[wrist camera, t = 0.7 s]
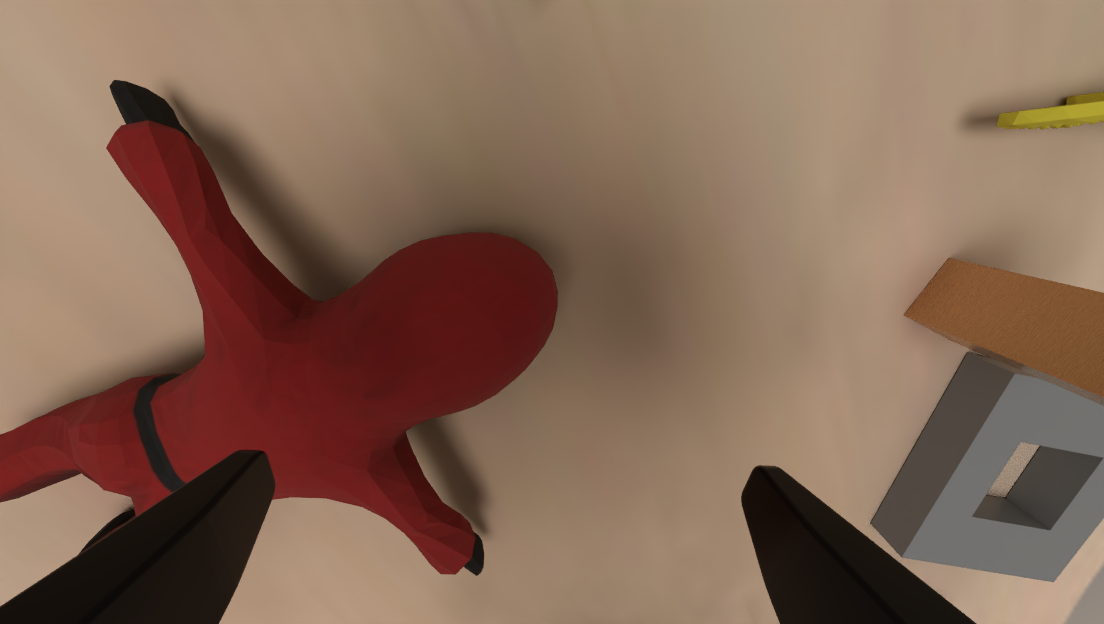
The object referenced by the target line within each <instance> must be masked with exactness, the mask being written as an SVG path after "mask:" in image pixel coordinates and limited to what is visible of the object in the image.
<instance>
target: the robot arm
mask: <svg viewBox="0 0 1104 624" xmlns="http://www.w3.org/2000/svg"><path fill="white" fill-rule="evenodd" d="M274 492H275V479H274V475H273V472H272V469H271V465H270V462H269V459H268V456H267V454H266V453H265V452H264V451H262V450H238V451H235V452H234V453H232V454H230V455H229V456H227V457H226V458H224V459H223V460H221V461H220V462H218V463H217V464H215V465H214V466H212V467H211V468H209V469H208V470H206V471H205V472H203V473H201V474H200V475H198V476H197V477H195V478H194V479H192V480H191V481H189V482H188V483H186V484H185V485H183V486H182V487H180V488H179V489H177V490H176V491H174V492H173V493H171V494H170V495H168V496H167V497H165V498H164V499H162V500H161V501H159V502H158V503H156V504H155V505H153V506H152V507H150V508H149V509H147V510H145V511H144V512H142V513H141V514H139V515H138V516H136V517H135V518H133V519H132V520H130V521H129V522H127V523H126V524H124V525H123V526H121V527H120V528H118V529H117V530H115V531H114V532H112V533H111V534H109V535H108V536H106V537H105V538H103V539H102V540H100V541H99V542H97V543H96V544H94V545H93V546H91V547H89V548H88V549H86V550H85V551H83V552H82V553H80V554H79V555H77V556H76V557H74V558H73V559H71V560H70V561H68V562H67V563H65V564H64V565H62V566H61V567H59V568H58V569H56V570H55V571H53V572H52V573H50V574H49V575H47V576H46V577H44V578H43V579H41V580H40V581H38V582H37V583H35V584H34V585H32V586H30V587H29V588H27V589H26V590H24V591H23V592H21V593H20V594H18V595H17V596H15V597H14V598H12V599H11V600H9V601H8V602H6V603H5V604H3V605H2V606H0V624H219V622H220V620H221V618H222V616H223V614H224V612H225V610H226V609H227V607H228V605H229V603H230V601H231V599H232V596H233V594H234V592H235V590H236V588H237V586H238V584H239V581H240V579H241V577H242V574H243V572H244V569H245V567H246V564H247V562H248V559H249V557H250V554H251V552H252V549H253V547H254V544H255V542H256V539H257V536H258V534H259V531H260V529H261V526H262V524H263V521H264V519H265V516H266V514H267V511H268V509H269V506H270V503H271V501H272V498H273V496H274ZM741 502H742V507H743V511H744V514H745V518H746V521H747V525H748V528H749V532H750V535H751V538H752V542H753V545H754V549H755V552H756V556H757V559H758V563H759V566H760V570H761V573H762V576H763V579H764V582H765V586H766V589H767V591H768V594H769V597H770V599H771V602H772V605H773V607H774V610H775V612H776V615H777V617H778V620H779V622H780V624H976V623H975V622H974V621H972V620H971V619H970V618H969V617H967V616H966V615H965V614H964V613H962V612H961V611H960V610H959V609H957V608H956V607H955V606H954V605H952V604H951V603H950V602H948V601H947V600H946V599H945V598H943V597H942V596H941V595H940V594H938V593H937V592H936V591H935V590H933V589H932V588H931V587H930V586H928V585H927V584H926V583H925V582H923V581H922V580H921V579H919V578H918V577H917V576H916V575H914V574H913V573H912V572H911V571H909V570H908V569H907V568H906V567H904V566H903V565H902V564H901V563H899V562H898V561H897V560H896V559H894V558H893V557H892V556H891V555H889V554H888V553H887V552H885V551H884V550H883V549H882V548H880V547H879V546H878V545H877V544H875V543H874V542H873V541H872V540H870V539H869V538H868V537H867V536H865V535H864V534H863V533H862V532H860V531H859V530H858V529H856V528H855V527H854V526H853V525H851V524H850V523H849V522H848V521H846V520H845V519H844V518H843V517H841V516H840V515H839V514H838V513H836V512H835V511H834V510H833V509H831V508H830V507H829V506H827V505H826V504H825V503H824V502H822V501H821V500H820V499H819V498H817V497H816V496H815V495H814V494H812V493H811V492H810V491H809V490H807V489H806V488H805V487H804V486H802V485H801V484H800V483H798V482H797V481H796V480H795V479H793V478H792V477H791V476H790V475H788V474H787V473H786V472H785V471H783V470H782V469H781V468H779V467H776V466H761V465H759V466H756V467H755V468H754V469H753V470H752V472H751V475H750V477H749V479H748V481H747V483H746V485H745V487H744V489H743V492H742V496H741Z"/></svg>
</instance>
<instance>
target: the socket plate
mask: <svg viewBox="0 0 1104 624" xmlns="http://www.w3.org/2000/svg"><path fill="white" fill-rule="evenodd" d="M1020 442H1025V443H1030V444H1035V445H1040V446H1041V447H1040V448H1039V450H1038V451H1037V452H1036V454H1035V455H1034V457H1033V458H1032V460H1031V461H1030V463H1029V464H1028V466H1027V467H1026V469H1025V470H1024V472H1023V473H1022V475H1021V476H1020V478H1019V479H1018V481H1017V482H1016V484H1015V485H1014V487H1013V488H1012V489H1011V491H1010V492H1009V494H1008V495H1007V497H1006V498H1001V497H995V496H990V495H986V494H987V492H988V491H989V489H990V488H991V486H992V485H993V483H994V482H995V480H996V479H997V477H998V476H999V474H1000V473H1001V471H1002V470H1003V468H1004V467H1005V465H1006V464H1007V462H1008V461H1009V459H1010V457H1011V456H1012V454H1013V453H1014V451H1015V450H1016V448H1017V447H1018V445H1019V444H1020ZM1103 518H1104V406H1103V405H1101V404H1098V403H1096V402H1094V401H1091V400H1089V399H1087V398H1084V397H1082V396H1080V395H1077V394H1075V393H1072V392H1070V391H1068V390H1065V389H1063V388H1061V387H1058V386H1056V385H1054V384H1051V383H1049V382H1047V381H1044V380H1042V379H1040V378H1037V377H1035V376H1033V375H1030V374H1028V373H1026V372H1023V371H1021V370H1019V369H1016V368H1014V367H1012V366H1009V365H1007V364H1004V363H1002V362H1000V361H997V360H995V359H993V358H990V357H986V356H981V355H976V354H971V353H967V354H966V356H965V358H964V360H963V361H962V363H961V365H960V367H959V369H958V370H957V372H956V374H955V376H954V377H953V379H952V381H951V383H950V384H949V386H948V388H947V390H946V391H945V393H944V395H943V397H942V398H941V400H940V402H939V404H938V406H937V407H936V409H935V411H934V413H933V414H932V416H931V418H930V420H929V421H928V423H927V425H926V427H925V428H924V430H923V432H922V434H921V435H920V437H919V439H918V441H917V442H916V444H915V446H914V448H913V450H912V451H911V453H910V455H909V457H908V458H907V460H906V462H905V464H904V465H903V467H902V469H901V471H900V472H899V474H898V476H897V478H896V479H895V481H894V483H893V485H892V486H891V488H890V490H889V492H888V494H887V495H886V497H885V499H884V501H883V502H882V504H881V506H880V508H879V509H878V511H877V513H876V515H875V516H874V518H873V520H872V522H871V523H870V524H871V525H872V526H873V527H874V528H875V529H876V530H877V531H878V532H879V533H880V534H881V535H882V537H883V538H884V539H885V540H886V541H887V542H888V543H889V544H890V545H891V546H892V547H893V549H894V550H895V551H896V552H897V553H898V554H899V555H900V556H901V557H902V558H908V559H914V560H920V561H926V562H933V563H939V564H945V565H951V566H957V567H963V568H970V569H976V570H982V571H988V572H994V573H1000V574H1006V575H1013V576H1019V577H1025V578H1031V579H1037V580H1043V581H1050V582H1054V581H1055V580H1056V578H1057V577H1058V576H1059V575H1060V573H1061V572H1062V571H1063V569H1064V568H1065V567H1066V566H1067V564H1068V563H1069V562H1070V560H1071V559H1072V558H1073V557H1074V555H1075V554H1076V553H1077V551H1078V550H1079V549H1080V548H1081V546H1082V545H1083V544H1084V542H1085V541H1086V540H1087V539H1088V537H1089V536H1090V535H1091V533H1092V532H1093V531H1094V530H1095V528H1096V527H1097V526H1098V524H1099V523H1100V522H1101V521H1102V519H1103Z"/></svg>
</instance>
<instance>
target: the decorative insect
mask: <svg viewBox="0 0 1104 624" xmlns="http://www.w3.org/2000/svg"><path fill="white" fill-rule="evenodd" d="M1099 121H1102V122H1104V92H1100V93H1092V94H1085V95H1078V96H1070V97H1067V101H1066V105H1064V106H1056V107H1048V108H1040V109H1032V110H1024V111H1017V112H1010V113H1002V114H1000V115H999V119H998V122H997V126H996V127H1001V128H1006V129H1016V128H1019V129H1024V128H1028V129H1035V128H1037V127H1039V128H1040V129H1042V130H1043V129H1046V128H1049V127H1050V126H1051V128H1061V127H1063V128H1068V127H1071V126H1079V125H1081V124H1083V123H1089V124H1095V123H1097V122H1099Z"/></svg>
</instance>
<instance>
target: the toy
mask: <svg viewBox="0 0 1104 624" xmlns="http://www.w3.org/2000/svg"><path fill="white" fill-rule="evenodd" d="M110 89H111V93H112V95H113V98H114V100H115V102H116V104H117V106H118V108H119V111H120V113H121V115H122V117H123V119H124V121H125V123H126V125H122V126H121V127H120V128H119V129H118V130H117V131H116V132H115V133H114V135H113V137H112V138H111V140H110V142H109V144H108V145H107V147H106V148H107V150H108V152H109V153H110V155H111V156H112V158H113V159H114V161H115V162H116V164H117V165H118V167H119V168H120V170H121V171H122V173H123V174H124V176H125V177H126V179H127V180H128V181H129V182H130V184H131V185H132V186H133V187H134V189H135V190H136V191H137V192H138V194H139V195H140V196H141V197H142V199H143V200H144V201H145V202H146V204H147V205H148V206H149V207H150V209H151V210H152V211H153V212H154V214H155V215H156V216H157V218H158V219H159V221H160V222H161V224H162V225H163V227H164V228H165V229H166V231H167V232H168V234H169V235H170V237H171V238H172V240H173V241H174V243H175V244H176V246H177V248H178V250H179V252H180V254H181V256H182V258H183V260H184V262H185V264H186V266H187V268H188V270H189V272H190V275H191V277H192V280H193V283H194V286H195V289H196V292H197V295H198V298H199V301H200V304H201V307H202V310H203V323H204V338H205V353H206V355H205V356H204V358H203V359H202V360H201V362H200V363H199V364H198V365H197V366H195V367H193V368H192V369H190V370H188V371H187V372H185V373H183V374H161V375H153V376H145V377H137V378H131V379H129V380H127V381H125V382H123V383H121V384H119V385H117V386H114V387H112V388H110V389H108V390H106V391H104V392H101V393H99V394H96V395H93V396H89V397H86V398H83V399H79V400H76V401H74V402H71V403H69V404H67V405H64V406H62V407H59V408H57V409H55V410H53V411H51V412H49V413H47V414H45V415H43V416H41V417H38V418H36V419H34V420H32V421H30V422H28V423H26V424H24V425H22V426H20V427H18V428H16V429H14V430H12V431H9V432H6V433H4V434H1V435H0V502H4V501H8V500H12V499H16V498H20V497H22V496H25V495H27V494H30V493H32V492H35V491H37V490H40V489H42V488H45V487H47V486H50V485H52V484H55V483H58V482H60V481H63V480H66V479H68V478H71V477H74V476H76V475H78V474H81V473H82V474H83V475H84V476H86V477H87V478H89V479H90V480H92V481H94V482H95V483H97V484H98V485H99V486H100V487H101V488H102V489H103V490H106V491H110V492H114V493H118V494H122V495H125V496H129V497H131V499H132V502H133V505H134V510H131V511H127V512H124V513H122V514H120V515H118V516H117V517H115V518H114V519H113V520H111V521H110V522H109V523H107V524H106V525H105V526H104V527H103V528H102V529H101V530H100V531H99V532H98V533H97V534H96V535H95V536H94V537H93V538H92V539H91V540H90V541H89V542H88V543H87V544H86V546H85V547H84V548H83V549H82V551H81V552H80V553H82V552H83V551H85V550H86V549H88V548H89V547H91V546H93V545H94V544H96V543H97V542H99V541H100V540H102V539H103V538H105V537H106V536H108V535H109V534H111V533H112V532H114V531H115V530H117V529H118V528H120V527H121V526H123V525H124V524H126V523H127V522H129V521H130V520H132V519H133V518H135V517H136V516H138V515H139V514H141V513H142V512H144V511H145V510H147V509H149V508H150V507H152V506H153V505H155V504H156V503H158V502H159V501H161V500H162V499H164V498H165V497H167V496H168V495H170V494H171V493H173V492H174V491H176V490H177V489H179V488H180V487H182V486H183V485H185V484H186V483H188V482H189V481H191V480H192V479H194V478H195V477H197V476H198V475H200V474H201V473H203V472H205V471H206V470H208V469H209V468H211V467H212V466H214V465H215V464H217V463H218V462H220V461H221V460H223V459H224V458H226V457H227V456H229V455H230V454H232V453H234V452H235V451H238V450H262V451H264V452H265V453H266V454H267V456H268V459H269V462H270V465H271V469H272V472H273V475H274V479H275V492H274V496H273V498H272V500H273V499H281V498H289V497H302V498H327V499H331V500H335V501H339V502H343V503H348V504H352V505H356V506H360V507H363V508H365V509H367V510H369V511H371V512H373V513H375V514H377V515H379V516H381V517H383V518H385V519H387V520H388V521H389V522H390V523H392V524H393V525H394V526H396V527H397V528H398V529H400V530H401V531H402V532H403V533H405V534H406V536H407V537H408V538H409V539H410V540H411V541H412V542H413V543H414V544H415V545H416V546H417V548H418V549H419V550H420V552H421V553H422V554H423V555H424V557H425V558H426V559H427V561H428V562H429V563H430V564H431V565H432V566H433V567H434V568H435V569H436V570H437V571H438V572H439V573H440V574H457V573H458V571H459V570H460V569H461V568H462V567H465V568H466V569H467V570H469V571H470V572H472V573H473V574H475V575H476V576H477V575H479V574H480V573H481V571H482V569H483V565H484V550H483V543H482V540H481V538H480V536H479V535H477V534H476V533H475V532H473V530H472V527H471V525H470V522H468V521H467V520H466V519H465V518H464V517H463V516H462V515H461V514H460V513H458V512H457V511H455V510H454V509H452V508H451V507H449V506H447V505H446V504H444V503H443V502H442V501H441V499H440V498H439V496H438V495H437V493H436V492H435V491H434V489H433V488H432V486H431V485H430V483H429V482H428V481H427V479H426V478H425V476H424V474H423V472H422V470H421V467H420V465H419V463H418V461H417V459H416V457H415V455H414V453H413V450H412V448H411V446H410V443H409V440H408V438H407V435H406V431H407V430H408V429H410V428H411V427H413V426H415V425H417V424H419V423H422V422H424V421H426V420H428V419H430V418H435V417H440V416H444V415H447V414H451V413H455V412H459V411H462V410H465V409H467V408H470V407H473V406H476V405H478V404H480V403H481V402H483V401H485V400H487V399H489V398H491V397H492V396H494V395H496V394H497V393H498V392H500V391H501V390H502V389H503V388H505V387H506V386H507V385H508V384H510V383H511V382H512V381H513V380H515V379H516V378H517V377H518V376H519V375H520V374H521V373H522V372H523V371H524V370H525V369H526V368H527V367H528V366H529V365H530V363H531V362H532V361H533V360H534V358H535V357H536V356H537V354H538V353H539V352H540V351H541V349H542V348H543V347H544V345H545V343H546V341H547V339H548V337H549V335H550V333H551V331H552V329H553V326H554V321H555V316H556V311H557V303H558V291H557V287H556V284H555V280H554V276H553V272H552V270H551V269H550V267H549V266H548V265H547V264H546V262H545V261H544V260H543V259H542V258H541V256H540V255H539V254H538V253H537V252H536V251H534V250H532V249H531V248H529V247H527V246H526V245H524V244H522V243H521V242H519V241H517V240H515V239H513V238H510V237H506V236H502V235H498V234H494V233H463V234H455V235H446V236H439V237H435V238H431V239H426V240H422V241H419V242H417V243H414V244H412V245H410V246H408V247H406V248H403V249H401V250H399V251H398V252H396V253H395V254H393V255H392V256H390V257H389V258H387V259H386V260H384V261H383V262H382V263H381V264H380V265H379V266H377V267H376V268H375V269H374V270H373V271H372V272H371V273H370V274H369V275H367V276H366V277H365V278H364V279H363V280H361V281H360V282H359V283H358V284H356V285H354V286H353V287H351V288H350V289H348V290H346V291H345V292H343V293H342V294H340V295H339V296H337V297H334V298H332V299H329V300H327V301H324V302H320V301H316V300H312V299H311V298H310V297H308V296H307V295H306V294H305V293H303V292H302V291H301V290H299V289H298V288H297V287H296V286H294V285H293V284H292V283H291V282H290V281H289V280H288V279H287V278H286V277H285V276H284V275H283V274H282V273H281V272H280V271H279V270H278V269H277V268H276V267H275V266H274V265H273V264H272V263H271V262H270V261H269V260H268V259H267V258H266V257H265V256H264V255H263V254H262V253H261V252H260V250H259V249H258V248H257V246H256V245H255V244H254V242H253V241H252V240H251V238H250V237H249V236H248V234H247V233H246V232H245V230H244V229H243V228H242V226H241V225H240V224H239V222H238V221H237V220H236V218H235V217H234V216H233V214H232V213H231V211H230V208H229V206H228V204H227V201H226V199H225V197H224V194H223V192H222V190H221V187H220V185H219V182H218V180H217V178H216V175H215V173H214V171H213V169H212V168H211V166H210V164H209V162H208V161H207V159H206V157H205V155H204V153H203V152H202V150H201V148H200V147H199V146H198V145H197V144H196V143H195V142H194V141H193V139H192V138H191V136H190V135H189V134H188V132H187V131H186V130H185V129H184V128H183V127H182V126H181V125H180V123H179V121H178V119H177V117H176V115H175V113H174V111H173V109H172V108H171V107H170V105H169V104H168V103H167V102H166V101H165V99H163V98H161V97H160V96H158V95H156V94H155V93H153V92H151V91H150V90H148V89H146V88H143V87H141V86H138V85H135V84H132V83H129V82H126V81H120V80H114V81H113V82H112V84H111V85H110ZM80 553H79V554H80ZM79 554H78V555H79Z"/></svg>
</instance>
